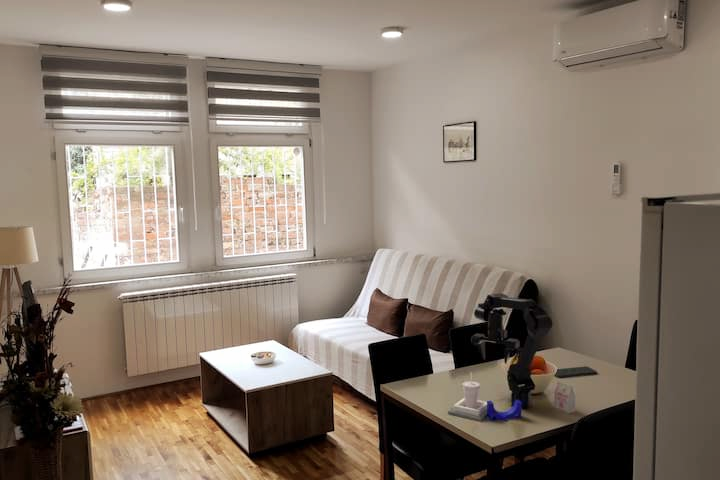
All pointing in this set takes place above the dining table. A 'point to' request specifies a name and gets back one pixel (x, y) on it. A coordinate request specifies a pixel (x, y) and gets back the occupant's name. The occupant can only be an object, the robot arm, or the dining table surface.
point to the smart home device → (574, 372)
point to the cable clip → (502, 416)
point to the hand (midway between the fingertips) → (494, 361)
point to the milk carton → (564, 398)
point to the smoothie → (471, 393)
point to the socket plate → (470, 410)
